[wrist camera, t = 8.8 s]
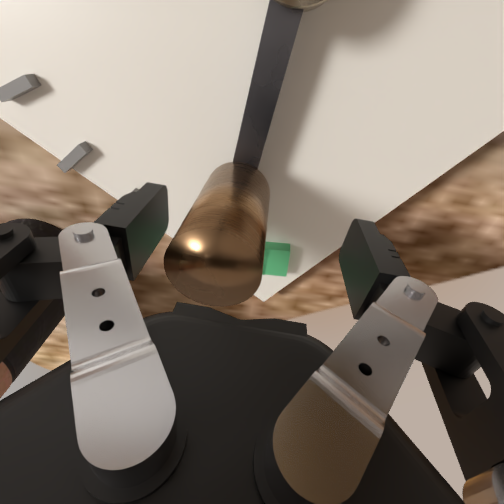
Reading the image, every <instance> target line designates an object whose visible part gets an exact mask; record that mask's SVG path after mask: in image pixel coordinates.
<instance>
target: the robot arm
mask: <svg viewBox="0 0 504 504" xmlns="http://www.w3.org/2000/svg"><path fill="white" fill-rule="evenodd" d="M168 223H169V210H168V190H167V187H166V185H161V184H155V183H150V182H147V183H146V184H145V185H143V186H142V187H141V188H140V189H139V190H138V191H137V192H134V191H133V192H131V193H128V194H126V195H124V196H122V197H121V198H120V199H119V200H118V201H116V203H114V204H113V205H112V206H111V208H109V209H108V210H107V211H105V212H104V213H103V214H102V215H101V216H100V217H99V218H98V219H97V220H96V221H94V222H93V223H91V222H86V223H78V224H74V225H71V226H69V227H67V228H65V229H63V230H62V231H61V232H60V234H59V236H58V237H33V235H32V232H31V230H30V228H29V227H28V226H27V225H24V224H21V223H2V224H0V289H1V292H0V363H1V362H2V361H3V360H4V359H5V357H6V356H7V355H8V354H9V353H10V351H11V350H12V349H13V348H14V347H15V345H16V344H17V343H18V342H19V340H20V339H21V338H22V337H23V336H24V334H25V333H26V332H27V331H28V330H29V328H30V327H31V326H32V325H33V324H34V322H35V321H36V320H37V319H38V317H39V316H40V315H41V314H42V313H43V311H44V310H45V309H46V308H47V307H48V305H49V304H50V303H51V302H52V301H53V299H63V304H64V312H65V319H66V327H67V335H68V343H69V350H70V358H71V360H69V361H68V362H66V363H64V364H62V365H61V366H59V367H57V368H56V369H54V370H52V371H50V372H49V373H47V374H45V375H44V376H42V377H40V378H38V379H37V380H35V381H33V382H31V383H30V384H28V385H26V386H25V387H23V388H21V389H20V390H18V391H16V392H14V393H13V394H11V395H9V396H8V397H6V398H4V399H2V400H1V401H0V504H504V314H503V313H501V312H500V311H498V310H496V309H495V308H493V307H490V306H488V305H486V304H483V303H478V302H470V303H468V304H467V305H466V306H465V307H464V308H463V309H462V310H461V311H460V310H458V309H455V308H452V307H449V306H447V305H444V304H442V303H439V302H438V298H437V295H436V293H435V292H434V291H433V290H432V289H431V288H430V287H429V286H428V285H426V284H425V283H423V282H422V281H420V280H418V279H415V278H412V277H411V276H410V275H409V273H408V271H407V269H406V267H405V265H404V264H403V262H402V260H401V259H400V256H399V255H398V253H397V252H396V249H395V247H394V245H393V244H392V242H391V241H390V240H388V239H387V238H386V237H385V236H384V235H381V234H380V233H379V231H378V229H377V227H376V225H375V223H374V222H373V221H368V220H362V219H354V220H353V221H352V223H351V225H350V227H349V230H348V232H347V235H346V237H345V239H344V242H343V244H342V247H341V249H340V254H339V263H340V267H341V271H342V275H343V279H344V282H345V286H346V290H347V294H348V298H349V302H350V306H351V310H352V314H353V318H354V319H357V320H358V322H357V323H356V324H355V325H354V326H353V328H352V329H351V330H350V331H349V333H348V334H347V335H346V336H345V338H344V339H343V340H342V341H341V342H340V344H339V345H338V346H337V348H336V349H335V350H334V351H333V350H332V349H330V348H329V347H328V346H327V345H325V344H324V343H322V342H321V341H319V340H317V339H316V338H314V337H312V336H310V335H307V328H306V324H304V323H298V322H292V321H286V320H280V319H253V320H240V319H237V318H234V317H232V316H229V315H227V314H224V313H222V312H219V311H217V310H214V309H212V308H209V307H203V306H198V305H192V304H186V303H180V302H177V303H176V306H175V308H174V311H173V312H165V313H159V314H155V315H151V316H148V317H145V318H143V317H142V315H141V312H140V309H139V307H138V304H137V301H136V299H135V296H134V293H133V291H132V288H131V285H130V283H129V280H132V281H134V280H135V278H136V277H137V275H138V274H139V272H140V271H141V269H142V268H143V266H144V265H145V263H146V261H147V260H148V258H149V257H150V255H151V254H152V252H153V251H154V249H155V248H156V246H157V245H158V243H159V241H160V240H161V238H162V237H163V235H164V234H165V232H166V230H167V227H168ZM414 359H416V360H418V361H421V362H422V365H423V367H424V370H425V373H426V375H427V378H428V381H429V384H430V386H431V389H432V392H433V394H434V397H435V400H436V402H437V405H438V408H439V411H440V413H441V416H442V419H443V421H444V424H445V426H446V429H447V432H448V435H449V437H450V440H451V443H452V445H453V448H454V451H455V453H456V456H457V459H458V462H459V464H460V467H461V470H462V472H463V475H464V478H465V480H466V482H465V484H464V487H463V500H462V499H461V498H460V497H459V495H458V494H457V493H456V492H455V491H454V490H453V488H452V487H451V486H450V485H449V484H448V483H447V481H446V480H445V479H444V478H443V477H442V476H441V474H439V472H438V471H437V470H436V469H435V467H434V466H433V465H432V464H431V463H430V462H429V460H428V459H427V458H426V457H425V456H424V455H423V453H422V452H421V451H420V450H419V449H418V448H417V447H416V445H415V444H414V443H413V442H412V441H411V440H410V438H409V437H408V436H407V435H406V434H405V433H404V431H403V430H402V429H401V428H400V427H399V426H398V424H397V423H396V422H395V421H394V420H393V419H392V417H391V416H390V415H389V414H388V413H389V411H390V409H391V407H392V405H393V402H394V400H395V398H396V396H397V394H398V392H399V390H400V388H401V386H402V384H403V382H404V380H405V378H406V375H407V373H408V371H409V369H410V367H411V365H412V363H413V361H414ZM480 367H482V369H483V371H484V372H485V374H486V376H487V378H488V380H489V382H490V385H491V394H490V397H489V398H488V399H487V398H486V396H485V394H484V392H483V390H482V389H481V387H480V385H479V383H478V381H477V379H476V377H475V375H474V372H475V371H476V370H478V369H479V368H480Z"/></svg>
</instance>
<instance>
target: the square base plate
mask: <svg viewBox="0 0 504 504" xmlns="http://www.w3.org/2000/svg"><path fill="white" fill-rule="evenodd" d="M269 1H270V0H0V118H1V119H2V120H4V121H5V122H7V123H8V124H9V125H11V126H12V127H14V128H15V129H17V130H18V131H19V132H21V133H22V134H24V135H25V136H27V137H28V138H30V139H31V140H32V141H34V142H35V143H37V144H38V145H40V146H41V147H42V148H44V149H45V150H47V151H48V152H50V153H51V154H53V155H54V156H55V157H57V158H58V159H60V160H61V162H60V163H58V164H57V166H58V167H59V168H60V169H61V170H62V171H63V172H64V173H66V172H67V171H69V170H71V169H72V168H73V169H74V170H75V171H77V172H78V173H80V174H81V175H83V176H84V177H86V178H87V179H88V180H90V181H91V182H93V183H94V184H96V185H97V186H98V187H100V188H101V189H103V190H104V191H106V192H107V193H109V194H110V195H111V196H113V197H114V198H116V199H117V200H119V199H120V198H121V197H122V196H124V195H126V194H128V193H131V192H133V191H134V192H137V191H138V190H139V189H140V188H141V187H142V186H143V185H145V184H146V183H147V182H150V183H155V184H161V185H166V187H167V190H168V210H169V223H168V227H167V230H166V232H165V233H166V234H167V235H169V236H170V237H172V238H174V236H175V234H176V233H177V231H178V229H179V227H180V226H181V224H182V222H183V221H184V219H185V217H186V216H187V214H188V212H189V210H190V209H191V207H192V205H193V204H194V202H195V200H196V199H197V197H198V195H199V193H200V192H201V190H202V188H203V187H204V185H205V183H206V182H207V180H208V178H209V176H210V175H211V173H212V172H213V171H214V170H215V169H216V168H217V167H219V166H220V165H223V164H225V163H228V162H233V158H234V154H235V150H236V145H237V141H238V137H239V132H240V128H241V123H242V119H243V115H244V110H245V106H246V101H247V97H248V93H249V88H250V84H251V79H252V75H253V71H254V66H255V62H256V58H257V53H258V49H259V44H260V40H261V36H262V31H263V27H264V22H265V18H266V14H267V9H268V5H269ZM503 131H504V0H328V1H327V2H325V3H324V4H323V5H321V6H319V7H318V8H316V9H313V10H311V11H307V12H303V13H302V17H301V20H300V24H299V27H298V31H297V34H296V38H295V41H294V45H293V48H292V52H291V55H290V59H289V62H288V66H287V69H286V72H285V76H284V79H283V83H282V86H281V90H280V93H279V97H278V100H277V104H276V107H275V111H274V114H273V118H272V121H271V124H270V128H269V131H268V135H267V138H266V142H265V145H264V149H263V152H262V156H261V159H260V163H259V166H258V170H259V171H260V172H261V173H262V174H263V175H264V177H265V178H266V180H267V182H268V184H269V188H270V202H269V212H268V222H267V232H266V242H265V252H264V262H263V272H262V280H261V284H260V286H259V288H258V290H257V291H256V292H255V294H254V295H255V296H256V297H258V298H259V299H261V300H262V301H265V300H267V299H268V298H270V297H271V296H272V295H274V294H275V293H277V292H278V291H279V290H281V289H282V288H284V287H285V286H287V285H288V284H289V283H291V282H292V281H294V280H295V279H296V278H298V277H299V276H301V275H302V274H303V273H305V272H306V271H308V270H309V269H310V268H312V267H313V266H315V265H316V264H317V263H319V262H320V261H322V260H323V259H324V258H326V257H327V256H329V255H330V254H331V253H333V252H334V251H336V250H337V249H338V248H340V247H341V246H342V244H343V242H344V239H345V237H346V235H347V232H348V230H349V227H350V225H351V223H352V221H353V220H354V219H362V220H368V221H373V222H374V223H375V222H376V221H378V220H379V219H381V218H382V217H383V216H385V215H386V214H388V213H389V212H390V211H392V210H393V209H395V208H396V207H397V206H399V205H400V204H402V203H403V202H404V201H406V200H407V199H409V198H410V197H412V196H413V195H414V194H416V193H417V192H419V191H420V190H421V189H423V188H424V187H426V186H427V185H428V184H430V183H431V182H433V181H434V180H435V179H437V178H438V177H440V176H441V175H442V174H444V173H445V172H447V171H448V170H449V169H451V168H452V167H454V166H455V165H456V164H458V163H459V162H461V161H462V160H463V159H465V158H466V157H468V156H469V155H470V154H472V153H473V152H475V151H476V150H478V149H479V148H480V147H482V146H483V145H485V144H486V143H487V142H489V141H490V140H492V139H493V138H494V137H496V136H497V135H499V134H500V133H501V132H503Z"/></svg>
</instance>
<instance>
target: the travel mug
mask: <svg viewBox="0 0 504 504" xmlns="http://www.w3.org/2000/svg"><path fill="white" fill-rule="evenodd" d="M7 223H21V224H24V225H27V226H28V227H29V228H30V230H31V232H32V235H33V237H58V236H59V234H60V232H61V230H60V229H58V228H56V227H54V226H52V225H50V224H47V223H45V222H41V221H38V220H33V219H16V220H12V221H9V222H7ZM0 292H1V289H0ZM64 316H65V312H64V304H63V299H53V301H52V302H51V303H50V304H49V305H48V307H47V308H46V309H45V310H44V311H43V313H42V314H41V315H40V316H39V317H38V319H37V320H36V321H35V322H34V324H33V325H32V326H31V327H30V328H29V330H28V331H27V332H26V333H25V334H24V336H23V337H22V338H21V339H20V340H19V342H18V343H17V344H16V345H15V347H14V348H13V349H12V350H11V351H10V353H9V354H8V355H7V356H6V357H5V359H4V360H3V361H2V362H1V363H0V398H1V397H2V395H3V394H4V393H5V392H6V391H7V389H8V388H9V387H10V385H11V383H12V382H14V380H15V379H16V378H17V377H18V375H19V374H20V373H21V372H22V370H23V369H24V368H25V366H26V365H27V364H28V362H29V361H30V360H31V359H32V357H33V356H34V355H35V353H36V352H37V351H38V349H39V348H40V347H41V346H42V344H43V343H44V342H45V340H46V339H47V338H48V336H49V335H50V334H51V333H52V331H53V330H54V329H55V327H56V326H57V325H58V324H59V322H60V321H61V320H62V318H63V317H64Z"/></svg>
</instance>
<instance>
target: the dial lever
mask: <svg viewBox="0 0 504 504" xmlns="http://www.w3.org/2000/svg"><path fill="white" fill-rule="evenodd" d="M327 1H328V0H270V1H269V5H268V9H267V14H266V18H265V22H264V27H263V31H262V36H261V40H260V44H259V49H258V53H257V58H256V62H255V66H254V71H253V75H252V79H251V84H250V88H249V93H248V97H247V101H246V106H245V110H244V115H243V119H242V123H241V128H240V132H239V137H238V141H237V145H236V150H235V154H234V158H233V162H228V163H225V164H223V165H220V166H219V167H217V168H216V169H215V170H214V171H213V172H212V173H211V175H210V176H209V178H208V180H207V182H206V183H205V185H204V187H203V188H202V190H201V192H200V193H199V195H198V197H197V199H196V200H195V202H194V204H193V205H192V207H191V209H190V210H189V212H188V214H187V216H186V217H185V219H184V221H183V222H182V224H181V226H180V227H179V229H178V231H177V233H176V234H175V236H174V238H173V239H172V241H171V243H170V244H169V246H168V248H167V250H166V252H165V255H164V268H165V272H166V275H167V277H168V279H169V280H170V282H171V283H172V284H173V286H174V287H175V288H176V289H177V290H178V291H180V292H181V293H182V294H183V295H185V296H187V297H188V298H190V299H192V300H194V301H196V302H199V303H202V304H206V305H211V306H231V305H235V304H239V303H241V302H244V301H245V300H247V299H249V298H250V297H251V296H253V295H254V294H255V292H256V291H257V290H258V288H259V286H260V284H261V280H262V272H263V262H264V252H265V242H266V232H267V222H268V212H269V202H270V188H269V184H268V182H267V180H266V178H265V177H264V175H263V174H262V173H261V172H260V171H259V170H258V166H259V163H260V159H261V156H262V152H263V149H264V145H265V142H266V138H267V135H268V131H269V128H270V124H271V121H272V118H273V114H274V111H275V107H276V104H277V100H278V97H279V93H280V90H281V86H282V83H283V79H284V76H285V72H286V69H287V66H288V62H289V59H290V55H291V52H292V48H293V45H294V41H295V38H296V34H297V31H298V27H299V24H300V20H301V17H302V13H303V12H307V11H311V10H313V9H316V8H318V7H319V6H321V5H323V4H324V3H325V2H327Z"/></svg>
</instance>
